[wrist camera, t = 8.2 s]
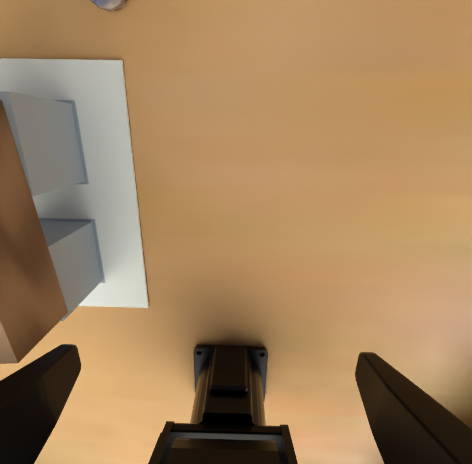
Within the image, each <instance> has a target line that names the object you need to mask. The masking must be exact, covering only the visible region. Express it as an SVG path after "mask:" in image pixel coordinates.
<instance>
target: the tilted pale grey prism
mask: <svg viewBox="0 0 472 464" xmlns="http://www.w3.org/2000/svg"><path fill="white" fill-rule="evenodd" d="M0 100H2V102H3V105H4V109H5V112H6V115H7V118H8V121H9V125H10V128H11V131H12V134H13V137H14V141H15V144H16V147H17V150H18V153H19V157H20V160H21V163H22V166H23V169H24V172H25V176H26V179H27V182H28V185H29V188H30V192H31V195H32V196H36V195H40V194H43V193H47V192H50V191H54V190H57V189H61V188H64V187H68V186H71V185H75V184H78V183H82V182H85V178H84V172H83V167H82V161H81V155H80V149H79V143H78V137H77V131H76V125H75V119H74V114H73V108H72V104H70V103H65V102H60V101H55V100H50V99H44V98H39V97H34V96H29V95H24V94H18V93H13V92H2V91H0Z"/></svg>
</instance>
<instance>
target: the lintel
mask: <svg viewBox="0 0 472 464" xmlns="http://www.w3.org/2000/svg"><path fill="white" fill-rule="evenodd" d="M67 313H68V310H67V307H66V303H65V300H64V297H63V294H62V291H61V287H60V284H59V281H58V278H57V275H56V271H55V268H54V265H53V262H52V259H51V255H50V252H49V249H48V246H47V243H46V239H45V236H44V233H43V230H42V227H41V224H40V220H39V217H38V214H37V211H36V208H35V204H34V201H33V198H32V195H31V192H30V188H29V185H28V182H27V179H26V176H25V172H24V169H23V166H22V163H21V160H20V157H19V153H18V150H17V147H16V144H15V141H14V137H13V134H12V131H11V128H10V125H9V121H8V118H7V115H6V112H5V109H4V105H3V102H2V100H0V364H5V363H19V362H20V361H21V360H22V359H23V358H24V357H25V356H26V355H27V354H28V353H29V352H30V351H31V349H32V348H33V347H34V346H35V345H36V344H37V343H38V342H39V341H40V340H41V339H42V338H43V337H44V336H45V335H46V334H47V333H48V332H49V331H50V330H51V329H52V328H53V327H54V326H55V325H56V324H57V323H58V322H59V321H60V320H61V319H62V318H63V317H64V316H65V315H66V314H67Z"/></svg>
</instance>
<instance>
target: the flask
mask: <svg viewBox="0 0 472 464" xmlns="http://www.w3.org/2000/svg"><path fill="white" fill-rule="evenodd" d="M91 1H92V2H93V3H94V4H95V5H96V6H98V7H99V8H101V9H104V10H109V11H114V10H117V9H119V8H121V7H124V6H125V2H126V0H91Z"/></svg>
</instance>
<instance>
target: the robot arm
mask: <svg viewBox="0 0 472 464" xmlns="http://www.w3.org/2000/svg"><path fill="white" fill-rule="evenodd" d="M199 351H201V352H199ZM261 352H263V353H262V354H261ZM267 358H268V353H267V349H266V348H265V347H253V346H219V345H197V346H196V347H195V349H194V373H195V400H194V405H193V411H192V416H191V422H190V424H189V423H174V422H172V421H167V422H166V424H165V427H164V429H163V432H162V433H160V436H159V438H158V441H157V443H156V446H155V448H154V451H153V453H152V456H151V458H150V461H149V463H148V464H298V463H297V459H296V455H295V451H294V447H293V443H292V439H291V435H290V431H289V427H288V425H280V426H266V425H265V413H264V399H265V385H266V372H267ZM80 370H81V362H80V357H79V353H78V349H77V346H76V345H72V344H63V345H60V346H58V347H57V348H55V349H53V350H51V351H50V352H48V353H46V354H45V355H43V356H41V357H40V358H38V359H36V360H35V361H33V362H31V363H30V364H28V365H26V366H25V367H23V368H21V369H20V370H18V371H16V372H15V373H13V374H11V375H9V376H8V377H6V378H4V379H3V380H1V381H0V464H34V462H35V461H36V459H37V457H38V455H39V454H40V452H41V450H42V448H43V447H44V445H45V443H46V441H47V439H48V438H49V436H50V434H51V432H52V430H53V429H54V427H55V425H56V423H57V421H58V419H59V417H60V415H61V413H62V410H63V408H64V406H65V404H66V402H67V399H68V397H69V395H70V393H71V391H72V388H73V386H74V384H75V382H76V380H77V377H78V375H79V373H80ZM355 377H356V382H357V385H358V388H359V392H360V395H361V398H362V401H363V405H364V408H365V411H366V415H367V418H368V421H369V425H370V428H371V431H372V434H373V436H374V439H375V442H376V444H377V447H378V449H379V452H380V454H381V456H382V459H383V461H384V464H472V428H470V427H469V426H468V425H467V424H465V423H464V422H463V421H461V420H460V419H459V418H458V417H456V416H455V415H454V414H452V413H451V412H450V411H449V410H447V409H446V408H445V407H443V406H442V405H441V404H440V403H438V402H437V401H436V400H434V399H433V398H432V397H431V396H429V395H428V394H427V393H425V392H424V391H423V390H422V389H420V388H419V387H418V386H416V385H415V384H414V383H413V382H411V381H410V380H409V379H407V378H406V377H405V376H404V375H402V374H401V373H400V372H398V371H397V370H396V369H395V368H393V367H392V366H391V365H389V364H388V363H387V362H386V361H384V360H383V359H382V358H380V357H379V356H378V355H377V354H375V353H372V352H361V353H360V354H359V357H358V361H357V366H356V371H355Z"/></svg>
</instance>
